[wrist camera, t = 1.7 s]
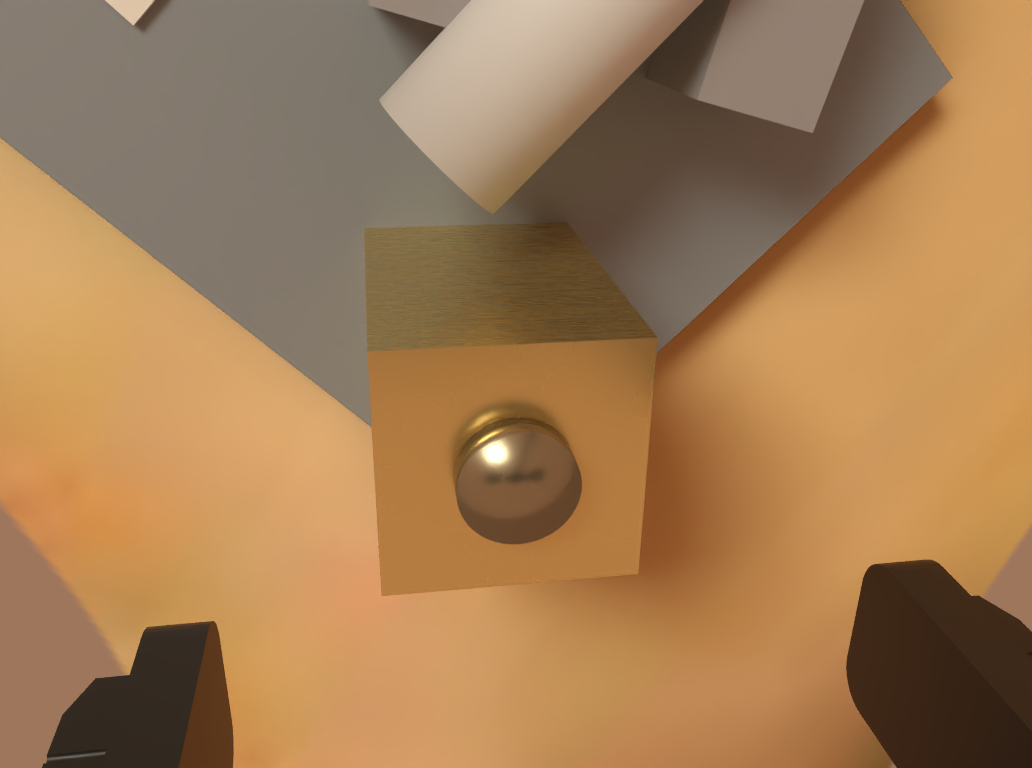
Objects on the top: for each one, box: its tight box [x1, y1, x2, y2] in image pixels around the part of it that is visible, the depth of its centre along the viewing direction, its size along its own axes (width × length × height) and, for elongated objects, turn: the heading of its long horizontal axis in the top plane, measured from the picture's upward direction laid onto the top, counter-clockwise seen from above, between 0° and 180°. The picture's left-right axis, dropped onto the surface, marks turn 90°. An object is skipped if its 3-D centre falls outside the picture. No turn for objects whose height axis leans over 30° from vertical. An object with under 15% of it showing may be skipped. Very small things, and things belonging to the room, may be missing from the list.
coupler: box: [364, 222, 658, 596], centre depth 18 cm, size 4×4×8 cm
